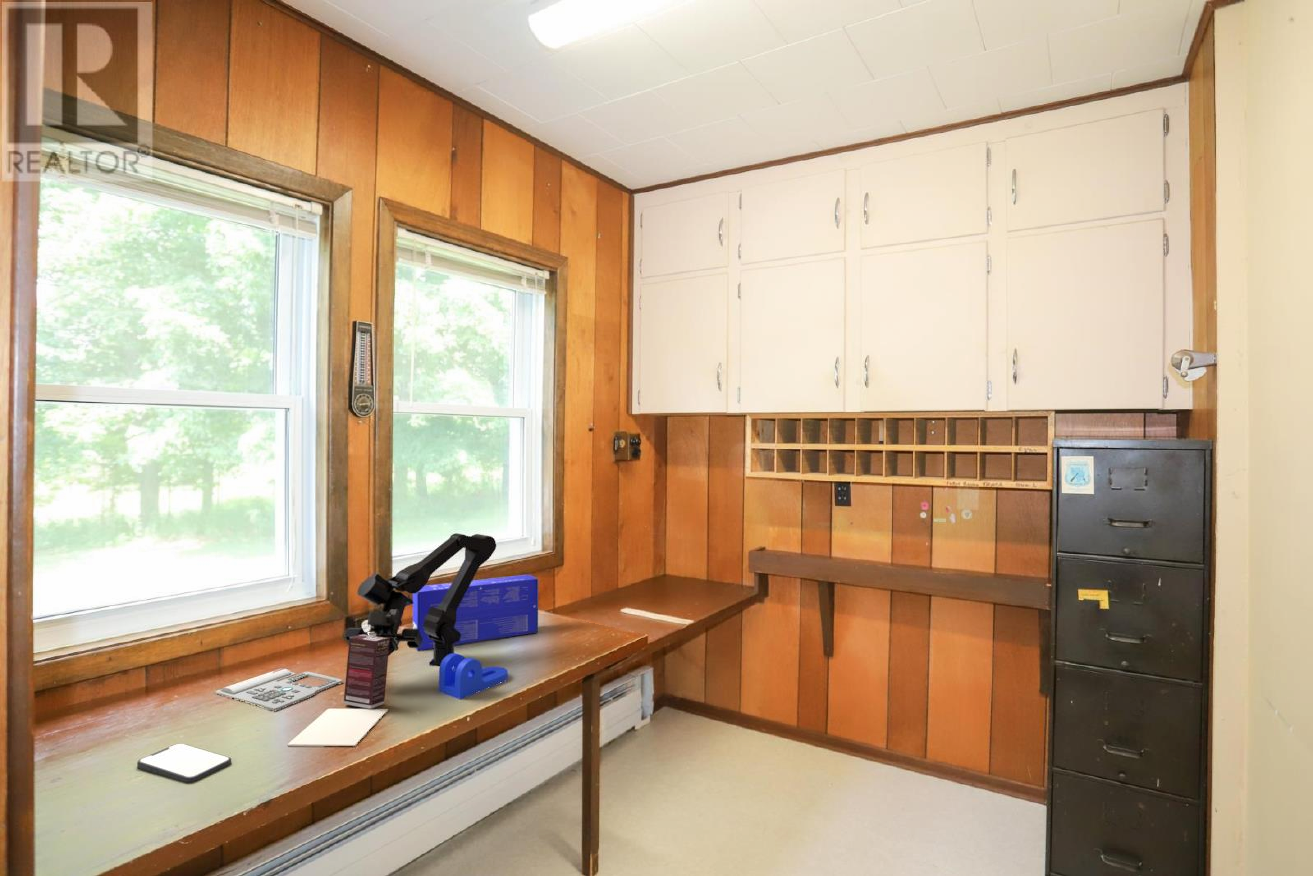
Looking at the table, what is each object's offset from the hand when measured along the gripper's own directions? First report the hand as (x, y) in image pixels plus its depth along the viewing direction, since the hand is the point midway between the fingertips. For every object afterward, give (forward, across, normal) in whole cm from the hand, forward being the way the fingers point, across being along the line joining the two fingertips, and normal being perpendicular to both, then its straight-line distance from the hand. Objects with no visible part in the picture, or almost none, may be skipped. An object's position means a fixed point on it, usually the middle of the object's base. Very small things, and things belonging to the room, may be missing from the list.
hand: (373, 669), depth 165 cm
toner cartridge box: (-28, +14, +38) cm, 49 cm away
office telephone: (+2, -25, +8) cm, 26 cm away
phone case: (+30, -23, -20) cm, 42 cm away
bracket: (-1, +24, +11) cm, 26 cm away
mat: (+17, 0, -8) cm, 19 cm away
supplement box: (+9, 0, 0) cm, 9 cm away
